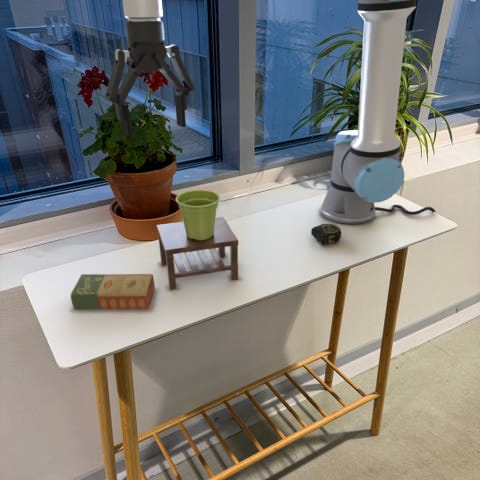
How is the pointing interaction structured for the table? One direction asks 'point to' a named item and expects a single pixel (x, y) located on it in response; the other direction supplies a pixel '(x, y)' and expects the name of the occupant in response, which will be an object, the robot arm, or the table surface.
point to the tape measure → (326, 233)
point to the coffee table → (178, 242)
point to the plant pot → (198, 212)
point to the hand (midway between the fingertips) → (155, 130)
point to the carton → (113, 291)
